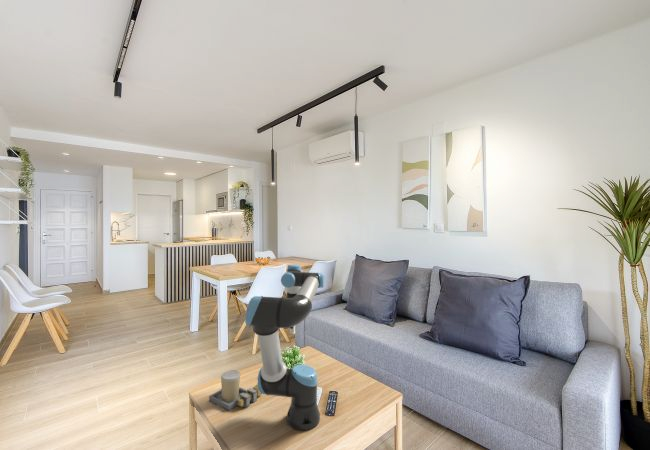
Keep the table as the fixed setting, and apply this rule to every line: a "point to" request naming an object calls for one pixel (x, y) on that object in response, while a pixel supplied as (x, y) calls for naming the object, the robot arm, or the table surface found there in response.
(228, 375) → the coffee cup
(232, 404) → the dock tray
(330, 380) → the table surface
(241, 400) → the lock pin
